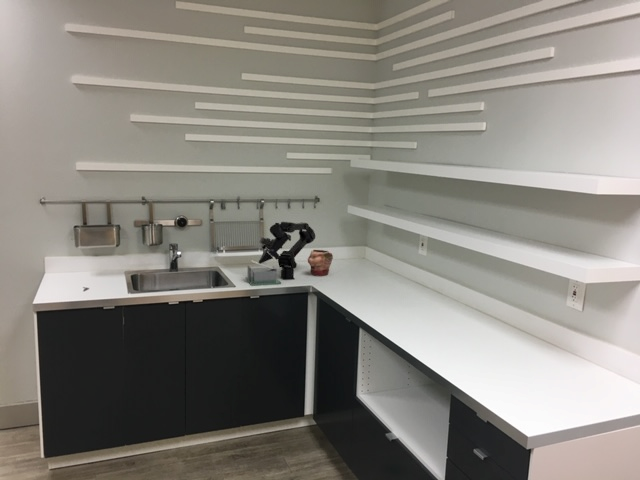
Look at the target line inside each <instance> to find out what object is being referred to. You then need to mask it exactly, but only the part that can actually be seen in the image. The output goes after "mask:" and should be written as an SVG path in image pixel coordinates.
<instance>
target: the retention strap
mask: <svg viewBox="0 0 640 480" xmlns="http://www.w3.org/2000/svg"><path fill="white" fill-rule="evenodd" d="M251 262H252V263H254V264H257V265H260V266H261V267H264V268H267V267H268V268H271V269H276V268H275V266H270V265H268V264H264V263H261V264H260V263H259V261H256V260H253V259H251Z"/></svg>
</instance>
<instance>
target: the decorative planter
mask: <svg viewBox="0 0 640 480" xmlns="http://www.w3.org/2000/svg"><path fill="white" fill-rule="evenodd" d="M333 256H334V255H333V253H332V252H330V251H328V250H323V249H313V250H311V252H310V254H309V256H308V257H307V262H308V265H309V266H310V274H311V275H313V276H316V277H324V276H328V274H329V272H330V267H331V264H332V261H333V259H334V257H333Z"/></svg>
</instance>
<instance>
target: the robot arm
mask: <svg viewBox="0 0 640 480" xmlns="http://www.w3.org/2000/svg"><path fill="white" fill-rule="evenodd" d="M295 231H299V232H298V235H299V239H298V240H297V241H296V242H295V243H294V245H292V247H290V249H289V250H283V251H282V252H281V253H280V254H279V253H278V251H279V250H280V249H281V250H282V249H283V248H284V247H283V246H284V244H286V243H287V242H288V241H289V242H291V241H292V236H291V235H290V234H292V233H294V232H295ZM269 232H270V233H271V235H272V236H273V237H274V238H272V239H271V238H269V237H263V236H261V238H260V240H259V243H260V244H261V245H260V248H262V255H261V257H260V258H259V260H258V262H259V263H260V264H261V263H262V264H264V263H265V262H267V261H270V260H274V259H275V260H276V261H277V262H278V266H279V267H278V268H281V270H280V278H281V279H282V280H295V277H294V276H295V275H294V274H295V271H294V270H295V269H296V268H297V265H298V263H297V262H296V260H295V258H296V257H297V255H298V254H300V252H301V251H302V250H303V248H305V246H306V245H308V244H311V243H313V242H314V241H315V239H316V233H315V230H314V229H313V228H312V227H311V226H310V225H309V223H307V222H290V221H289V222H288V221H281V222H275V223H274V224H273V225H271V226H270V228H269ZM289 233H290V234H289Z"/></svg>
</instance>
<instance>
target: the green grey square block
mask: <svg viewBox="0 0 640 480" xmlns="http://www.w3.org/2000/svg"><path fill="white" fill-rule="evenodd" d="M245 280H246V281H247V283H248V284H249V285H250V286H251V287H253V286H254V287H257V286H270V285H271V286H272V285H273V286H274V285H281V284H282V281H280V280H279V278H277V268H275V269H271V268H268V267H252V268H251V266H249V265H247V276H245Z"/></svg>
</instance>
